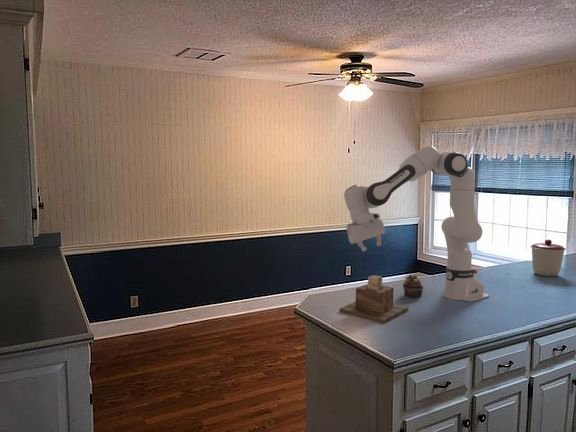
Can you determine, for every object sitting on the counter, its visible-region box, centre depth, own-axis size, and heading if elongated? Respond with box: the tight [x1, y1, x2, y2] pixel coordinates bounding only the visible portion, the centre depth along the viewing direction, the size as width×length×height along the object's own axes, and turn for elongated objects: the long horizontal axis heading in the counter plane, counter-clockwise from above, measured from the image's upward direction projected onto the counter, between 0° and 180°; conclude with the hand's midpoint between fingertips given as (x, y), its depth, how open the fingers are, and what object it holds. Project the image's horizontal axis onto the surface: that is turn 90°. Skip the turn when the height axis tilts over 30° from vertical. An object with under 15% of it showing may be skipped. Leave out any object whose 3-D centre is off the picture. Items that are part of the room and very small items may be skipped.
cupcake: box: [402, 274, 424, 299], centre depth 228 cm, size 10×10×10 cm
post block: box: [339, 283, 409, 324], centre depth 204 cm, size 22×22×10 cm
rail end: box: [367, 274, 383, 291], centre depth 203 cm, size 4×4×11 cm
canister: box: [530, 239, 566, 277], centre depth 273 cm, size 18×18×21 cm
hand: (372, 248), depth 211 cm, fingers open, 8 cm apart
